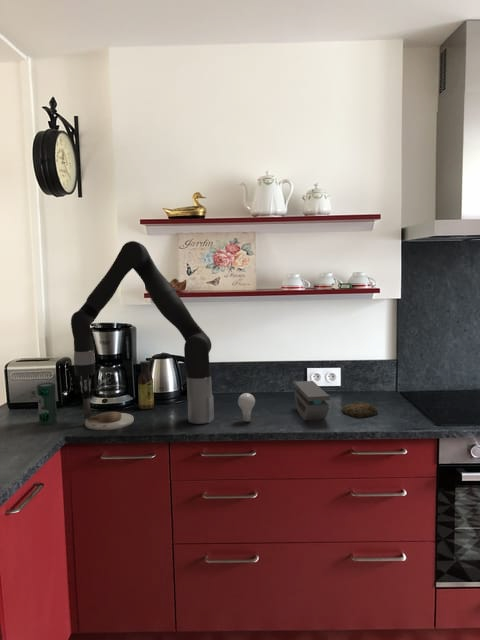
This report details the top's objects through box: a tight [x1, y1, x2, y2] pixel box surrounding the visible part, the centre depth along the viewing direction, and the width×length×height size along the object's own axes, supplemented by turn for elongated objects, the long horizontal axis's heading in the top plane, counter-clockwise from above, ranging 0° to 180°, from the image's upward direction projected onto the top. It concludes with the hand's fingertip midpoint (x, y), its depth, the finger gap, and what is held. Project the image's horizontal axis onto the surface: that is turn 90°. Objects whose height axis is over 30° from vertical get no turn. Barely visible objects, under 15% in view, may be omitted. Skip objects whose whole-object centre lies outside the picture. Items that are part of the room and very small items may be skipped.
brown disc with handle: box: [82, 397, 122, 422], centre depth 190 cm, size 14×9×8 cm, turn 107°
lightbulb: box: [237, 392, 256, 423], centre depth 188 cm, size 6×6×11 cm
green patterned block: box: [36, 382, 58, 426], centre depth 193 cm, size 6×6×15 cm
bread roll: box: [341, 400, 378, 419], centre depth 196 cm, size 13×12×5 cm
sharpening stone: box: [293, 380, 331, 422], centre depth 193 cm, size 25×8×11 cm, turn 6°
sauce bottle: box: [137, 360, 155, 410], centre depth 210 cm, size 7×6×20 cm
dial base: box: [84, 412, 135, 431], centre depth 191 cm, size 18×18×2 cm
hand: (86, 406), depth 192 cm, fingers closed
